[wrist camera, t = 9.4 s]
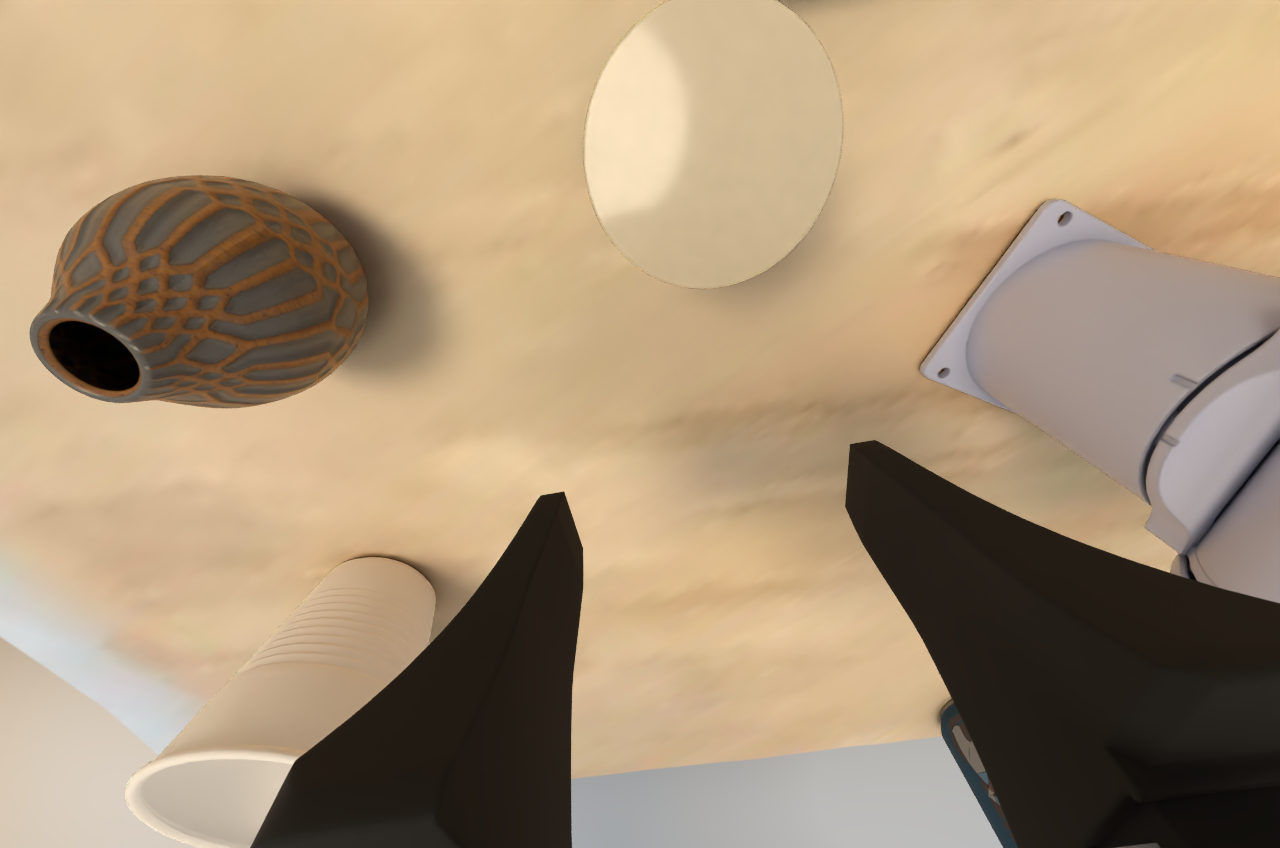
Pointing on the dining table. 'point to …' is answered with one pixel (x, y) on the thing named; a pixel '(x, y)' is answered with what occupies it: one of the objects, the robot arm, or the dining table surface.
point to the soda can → (974, 772)
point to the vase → (201, 296)
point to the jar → (712, 139)
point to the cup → (285, 703)
